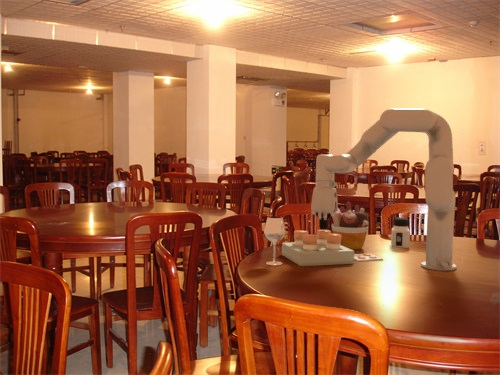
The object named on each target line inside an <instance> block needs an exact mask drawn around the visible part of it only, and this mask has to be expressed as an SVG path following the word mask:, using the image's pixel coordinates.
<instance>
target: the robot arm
mask: <svg viewBox="0 0 500 375" xmlns="http://www.w3.org/2000/svg"><path fill="white" fill-rule="evenodd" d="M399 132H401V133H403V132H404V133H407V132H408V133H422V134H423V133H424V134H426V135H427V138H428V160H427V161H426V163H425V167H424V168H425V169H424V191H425V192H424V195H425V196H424V197H425V203H426V205H427V217H426V218H427V220H426V221H427V222H426V242H425V243H426V245H425V261H422V262H421V264H420V265H421V267H422V268H424V269H427V270H432V271H443V272H444V271H446V272H447V271H454V270H456V269H457V265H456V264H455V263H453V251H454V247H453V246H454V245H453V244H454V231H455V230H454V228H455V210H456V192H455V191H454V176H453V175H454V170H455V165H454V149H453V147H454V146H453V132H452V129H451V126H450V124H449V123H448V121H447V120H446V119H445V118H444V117H443V116H441V114H438V113H436V112H434V111H431V110H429V109H426V108H388V109H385V110H384V111H382V113H381V115H380V117H379V119H378V120H377V121H376V122H375V123H373V125H371V126H369V128H367V129H366V130H365V131H364V132H363V133H362V135H361V137H360V139H359V141H358V142H357V143H355V144H356V145H354V146H353V147H352V148H351V149H350V150H348V151H347V152H346V153H345V154H344V153H343V154H337V155H336V154H335V155H333V154H318V155H317V156H316V161H315V162H316V164H315V187H314V188H313V190H312V195H311V204H310V206H311V208H310V209H311V212H310V213H311V214H312V215H314V216H316V217H317V218H318V220H319V222H318V223H319V230H327V229H328V227H329V226H328V224H329V223H328V222H329V221H328V220H329V219H330V218H331V217H332V216H336V215H337V212H338V207H339V206H338V193H337V192H338V191H337V188H335V187H338V182H335V173H336V174H347V173H352V172H353V171H355V170H356V169H357V168H359V167H360V166H361V165H362V164H364V163H365V162H366V161H367V160H368V159H369V158H371V156H372V155H373V154H375V153H376V152H377V151H378V150H379V149H380V148H382V147H383V145H385V144H386V143H387V142H388V141H390V139H392V138H393V137H394V136H396V135H397V134H398V133H399Z"/></svg>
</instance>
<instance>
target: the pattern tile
mask: <svg viewBox="0 0 500 375" xmlns="http://www.w3.org/2000/svg"><path fill="white" fill-rule="evenodd" d="M354 261H356V262H374V261H376V262H377V261H378V262H379V261H384V258H382V257H379V256H377V255H374V254H373V253H354Z"/></svg>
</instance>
